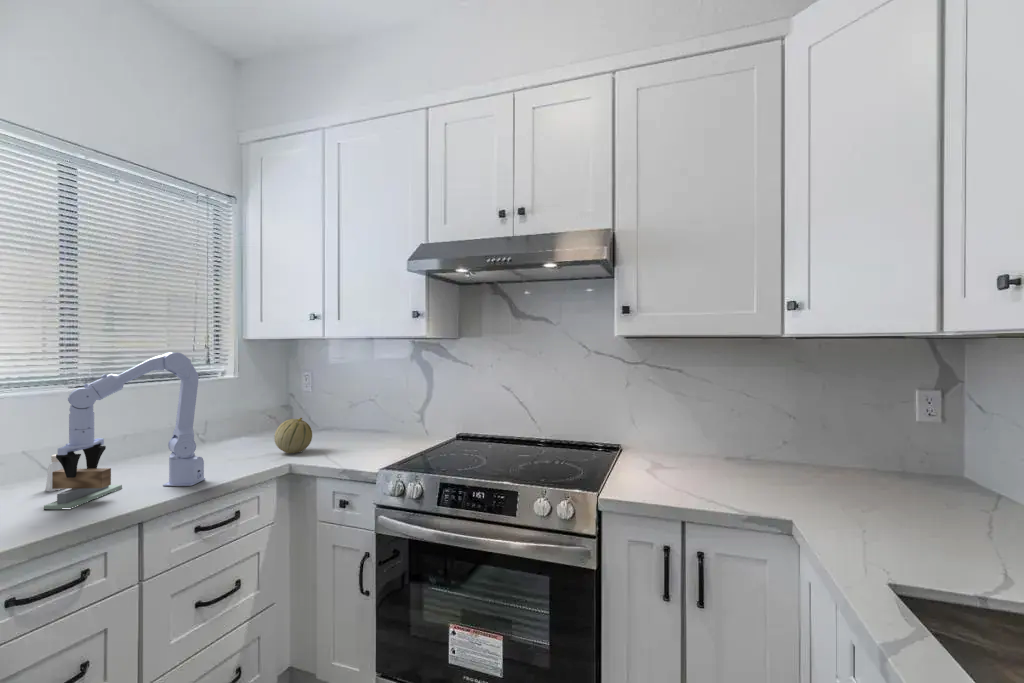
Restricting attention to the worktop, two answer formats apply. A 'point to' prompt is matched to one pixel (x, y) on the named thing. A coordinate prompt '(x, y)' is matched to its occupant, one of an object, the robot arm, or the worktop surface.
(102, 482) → the walnut bar
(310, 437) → the cantaloupe
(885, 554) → the worktop surface
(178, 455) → the robot arm
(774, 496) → the worktop surface
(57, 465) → the pepper shaker
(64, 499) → the ridge stand
